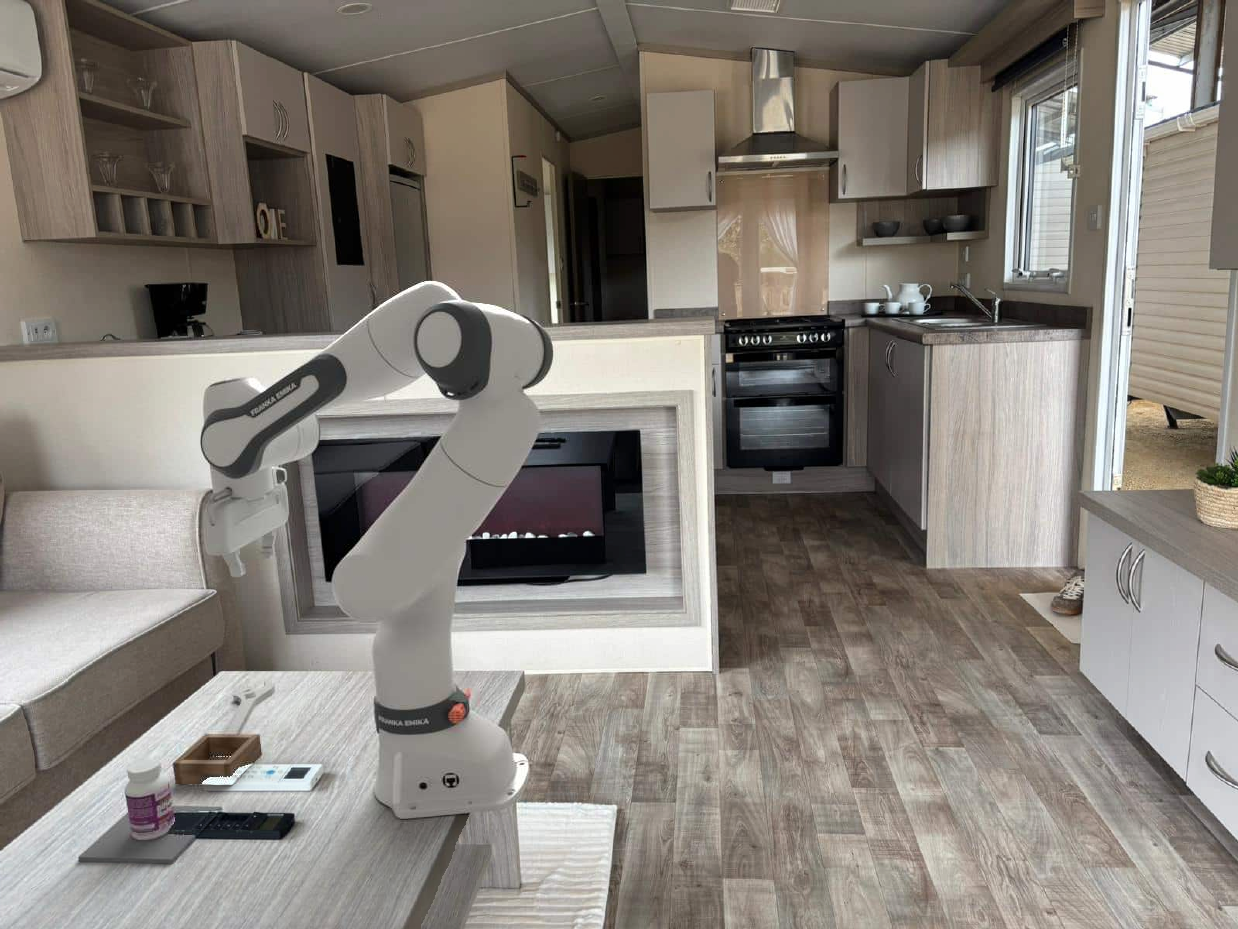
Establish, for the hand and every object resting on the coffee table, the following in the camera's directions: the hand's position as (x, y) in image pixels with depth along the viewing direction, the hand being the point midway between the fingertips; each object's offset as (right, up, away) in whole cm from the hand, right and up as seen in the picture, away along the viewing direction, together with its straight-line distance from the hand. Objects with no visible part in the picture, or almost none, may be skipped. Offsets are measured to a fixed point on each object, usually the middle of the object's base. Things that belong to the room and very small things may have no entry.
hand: (253, 566), depth 144 cm
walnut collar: (-3, -31, -5) cm, 31 cm away
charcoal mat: (-5, -34, -21) cm, 41 cm away
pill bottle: (-5, -34, -21) cm, 40 cm away
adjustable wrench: (-8, -28, +13) cm, 32 cm away
